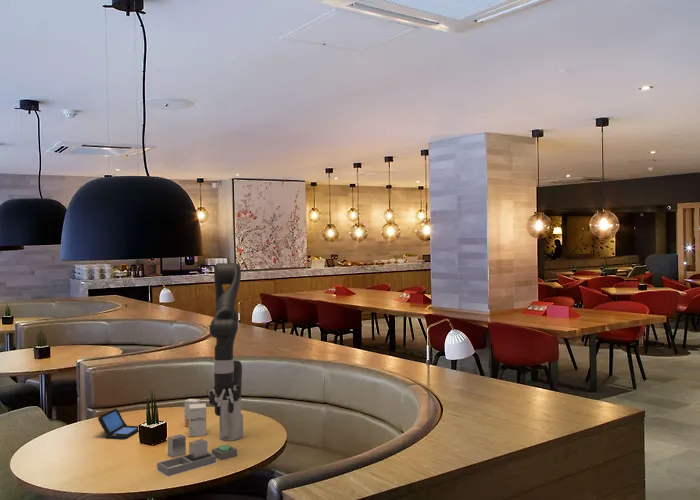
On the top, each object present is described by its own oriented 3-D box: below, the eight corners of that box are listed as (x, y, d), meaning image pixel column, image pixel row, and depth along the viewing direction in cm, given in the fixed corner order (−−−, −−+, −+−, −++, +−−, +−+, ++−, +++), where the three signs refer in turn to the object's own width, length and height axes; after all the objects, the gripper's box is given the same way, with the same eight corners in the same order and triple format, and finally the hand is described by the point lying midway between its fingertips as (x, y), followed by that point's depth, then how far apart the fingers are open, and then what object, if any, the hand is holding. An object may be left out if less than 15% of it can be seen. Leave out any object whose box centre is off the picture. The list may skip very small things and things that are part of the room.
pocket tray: (205, 458, 237) (205, 449, 237) (217, 465, 230) (217, 456, 230) (155, 472, 223) (155, 462, 223) (167, 479, 216) (167, 470, 216)
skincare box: (184, 426, 278) (184, 400, 278) (189, 424, 282) (189, 398, 282) (195, 428, 276) (195, 401, 276) (200, 425, 280) (200, 399, 280)
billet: (180, 454, 242) (180, 433, 242) (185, 456, 239) (185, 436, 239) (167, 457, 239) (167, 436, 239) (172, 460, 236) (172, 439, 236)
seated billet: (202, 459, 233) (202, 438, 233) (207, 462, 230) (207, 441, 230) (189, 463, 230) (188, 441, 229) (194, 466, 227) (194, 444, 226)
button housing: (227, 453, 243) (227, 444, 243) (237, 458, 237) (237, 449, 237) (212, 457, 238) (211, 449, 238) (221, 462, 233) (221, 453, 233)
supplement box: (189, 437, 263) (188, 408, 263) (188, 432, 270) (188, 403, 270) (206, 435, 265) (206, 407, 265) (205, 430, 272) (205, 402, 272)
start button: (226, 449, 240) (226, 444, 240) (231, 451, 237) (231, 446, 237) (217, 451, 238) (217, 446, 238) (222, 454, 235) (222, 449, 235)
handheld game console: (125, 440, 260) (125, 418, 260) (96, 438, 262) (96, 417, 262) (143, 429, 275) (143, 408, 275) (116, 427, 277) (116, 407, 277)
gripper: (234, 366, 245) (234, 408, 245) (202, 371, 235) (202, 415, 235) (244, 369, 239) (245, 412, 239) (212, 375, 229) (212, 419, 230)
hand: (224, 413), depth 237 cm, fingers open, 5 cm apart
